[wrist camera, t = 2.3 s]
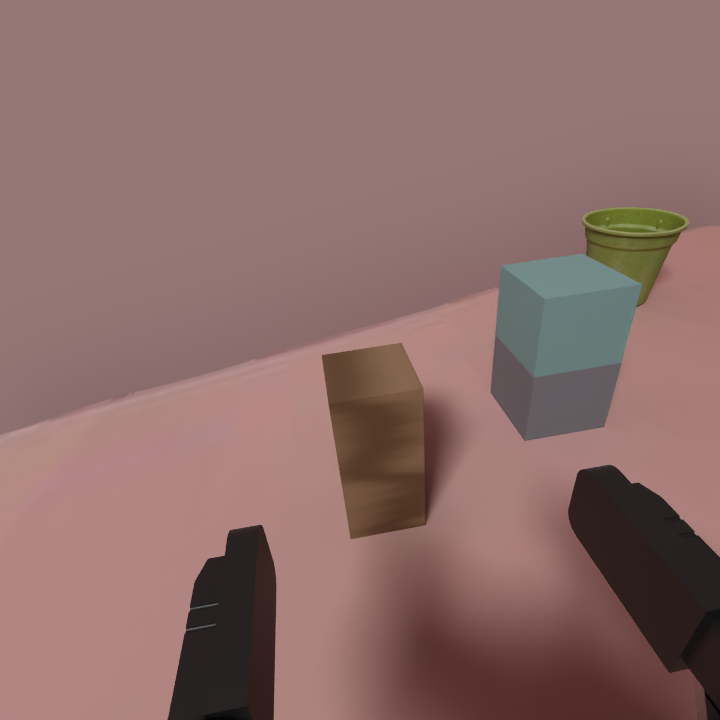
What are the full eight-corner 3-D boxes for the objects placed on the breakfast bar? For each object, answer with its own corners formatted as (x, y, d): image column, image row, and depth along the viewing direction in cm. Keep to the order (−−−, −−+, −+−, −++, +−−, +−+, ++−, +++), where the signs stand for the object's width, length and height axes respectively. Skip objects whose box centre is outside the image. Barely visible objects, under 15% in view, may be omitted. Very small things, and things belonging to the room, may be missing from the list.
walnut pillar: (407, 469, 29) (401, 342, 24) (425, 524, 25) (423, 388, 20) (342, 481, 29) (321, 355, 24) (350, 539, 25) (328, 404, 20)
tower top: (569, 322, 33) (582, 253, 30) (620, 362, 28) (642, 284, 25) (495, 334, 33) (501, 265, 30) (533, 377, 28) (544, 299, 25)
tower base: (559, 381, 36) (570, 323, 33) (603, 426, 31) (621, 363, 28) (490, 392, 36) (495, 334, 33) (524, 441, 31) (534, 377, 28)
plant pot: (685, 302, 46) (713, 219, 41) (618, 323, 43) (640, 238, 39) (611, 275, 53) (628, 203, 49) (550, 292, 51) (562, 217, 46)
